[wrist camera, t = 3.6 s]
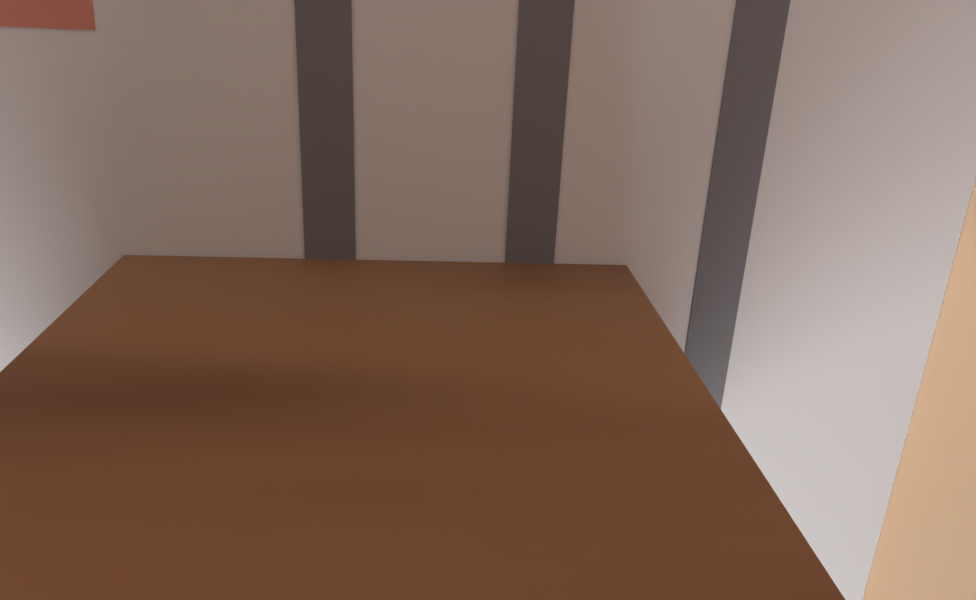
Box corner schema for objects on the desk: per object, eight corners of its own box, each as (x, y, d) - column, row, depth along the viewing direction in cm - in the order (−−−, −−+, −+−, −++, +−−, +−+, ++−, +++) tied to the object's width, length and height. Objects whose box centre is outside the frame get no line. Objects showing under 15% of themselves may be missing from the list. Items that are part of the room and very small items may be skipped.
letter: (770, 894, 13) (778, 915, 13) (-30, 925, 12) (-42, 949, 12) (1095, -354, 7) (1124, -368, 7) (-444, -480, 6) (-490, -502, 6)
